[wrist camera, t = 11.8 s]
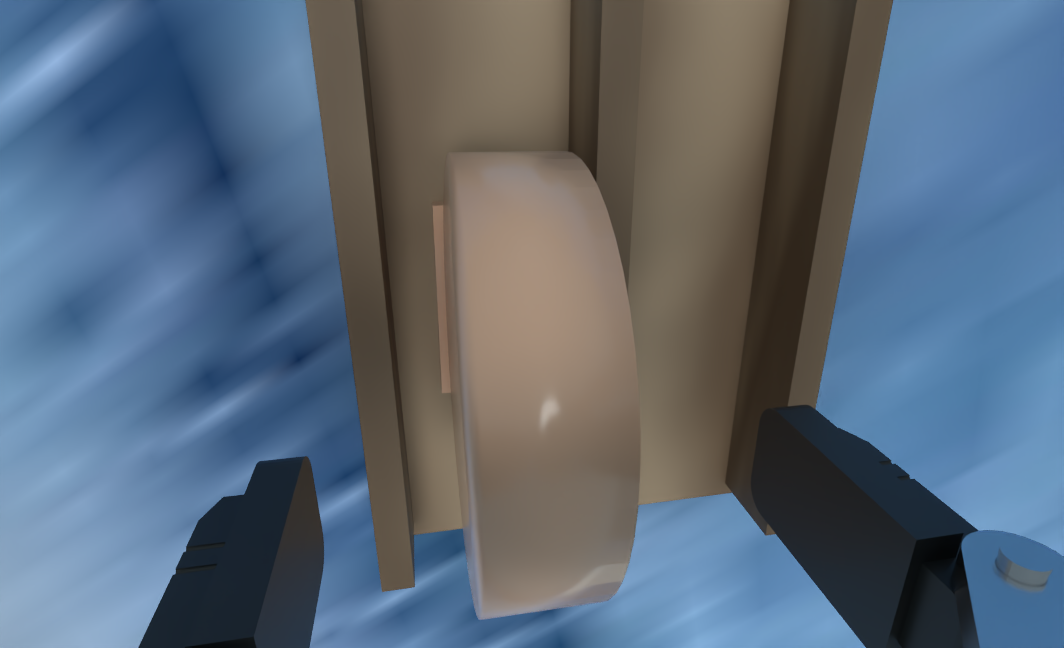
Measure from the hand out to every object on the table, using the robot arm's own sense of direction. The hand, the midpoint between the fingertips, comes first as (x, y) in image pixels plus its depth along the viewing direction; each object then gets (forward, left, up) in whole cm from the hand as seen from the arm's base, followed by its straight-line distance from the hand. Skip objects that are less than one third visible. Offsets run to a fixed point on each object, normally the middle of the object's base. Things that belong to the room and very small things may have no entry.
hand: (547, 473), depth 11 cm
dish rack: (-3, 0, -11) cm, 11 cm away
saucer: (0, 0, -9) cm, 9 cm away
